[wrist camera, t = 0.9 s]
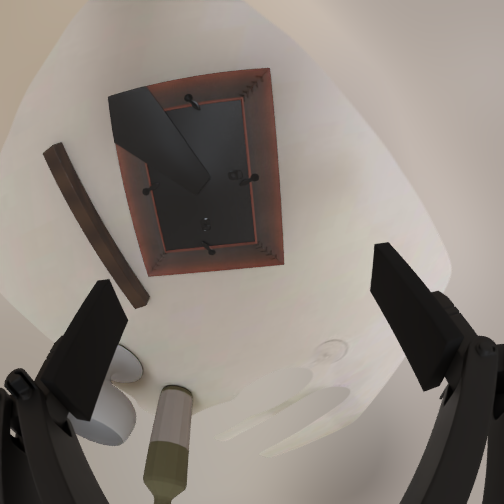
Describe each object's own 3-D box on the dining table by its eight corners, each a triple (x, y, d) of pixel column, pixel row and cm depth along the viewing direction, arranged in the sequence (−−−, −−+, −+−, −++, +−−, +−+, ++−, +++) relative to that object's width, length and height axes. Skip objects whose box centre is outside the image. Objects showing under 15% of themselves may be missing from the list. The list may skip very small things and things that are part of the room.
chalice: (112, 387, 49) (94, 448, 36) (65, 342, 43) (34, 405, 30) (163, 376, 47) (149, 448, 34) (113, 325, 41) (81, 401, 28)
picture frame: (116, 96, 26) (152, 266, 36) (107, 96, 23) (147, 277, 34) (268, 70, 25) (281, 254, 36) (270, 67, 23) (284, 265, 33)
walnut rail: (51, 150, 28) (42, 153, 26) (61, 141, 27) (52, 144, 25) (138, 300, 38) (135, 309, 37) (149, 296, 38) (146, 305, 36)
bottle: (170, 378, 47) (147, 534, 21) (202, 393, 50) (192, 542, 23) (153, 391, 50) (129, 531, 23) (182, 405, 52) (169, 539, 26)
